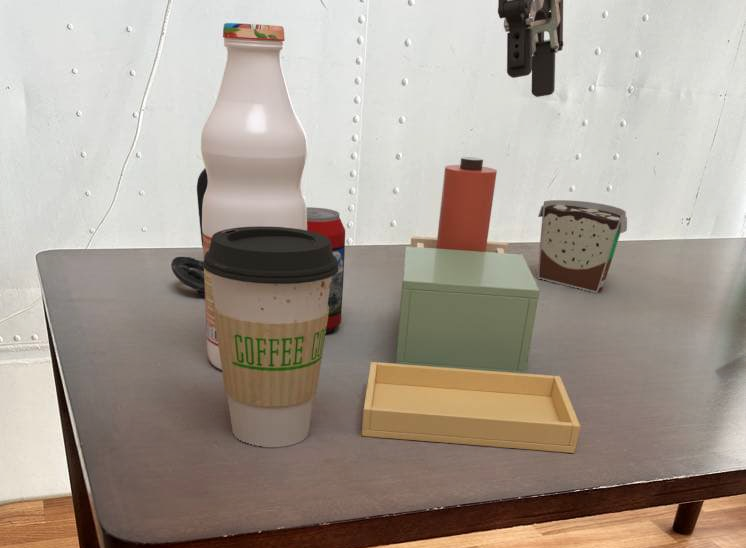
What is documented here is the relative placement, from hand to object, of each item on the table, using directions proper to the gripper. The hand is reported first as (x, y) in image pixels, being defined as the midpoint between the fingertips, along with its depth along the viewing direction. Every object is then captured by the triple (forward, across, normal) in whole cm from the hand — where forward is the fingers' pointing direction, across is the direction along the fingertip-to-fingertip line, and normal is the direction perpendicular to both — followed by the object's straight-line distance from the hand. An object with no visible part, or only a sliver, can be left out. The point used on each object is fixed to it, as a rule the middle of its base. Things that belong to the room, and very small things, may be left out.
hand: (531, 86), depth 81 cm
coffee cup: (+30, -33, +12) cm, 46 cm away
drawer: (+21, +7, +11) cm, 24 cm away
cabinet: (+25, -5, +6) cm, 26 cm away
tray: (+30, -21, 0) cm, 37 cm away
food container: (+18, +32, +2) cm, 37 cm away
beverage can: (+22, -8, +22) cm, 32 cm away
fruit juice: (+25, -20, +21) cm, 39 cm away
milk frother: (+17, +1, +38) cm, 41 cm away
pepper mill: (+20, +6, +10) cm, 23 cm away
